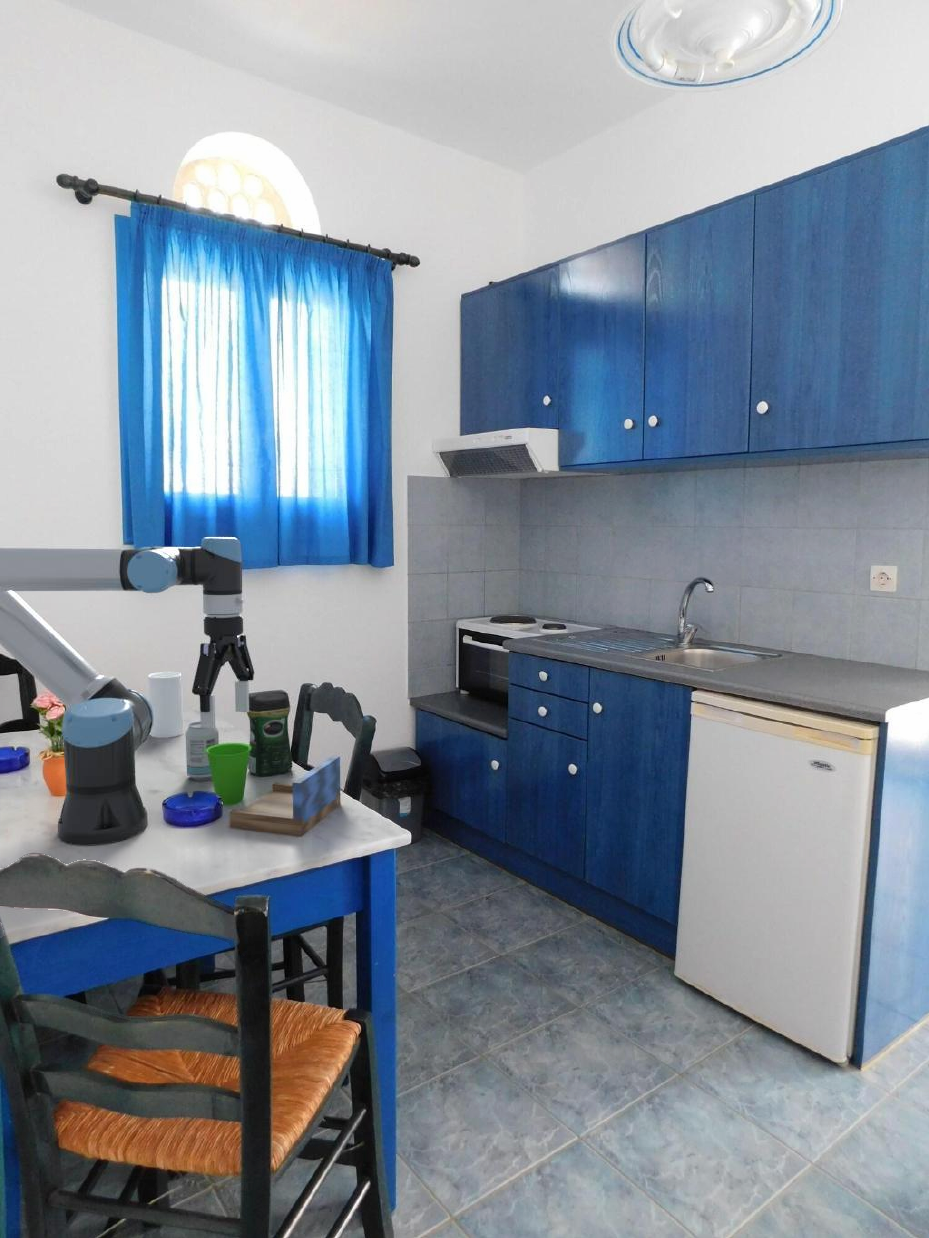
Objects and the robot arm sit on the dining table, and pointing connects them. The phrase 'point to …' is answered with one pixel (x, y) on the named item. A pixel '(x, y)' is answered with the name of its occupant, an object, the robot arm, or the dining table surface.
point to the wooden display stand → (294, 803)
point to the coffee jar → (269, 733)
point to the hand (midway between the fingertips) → (225, 719)
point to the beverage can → (199, 750)
